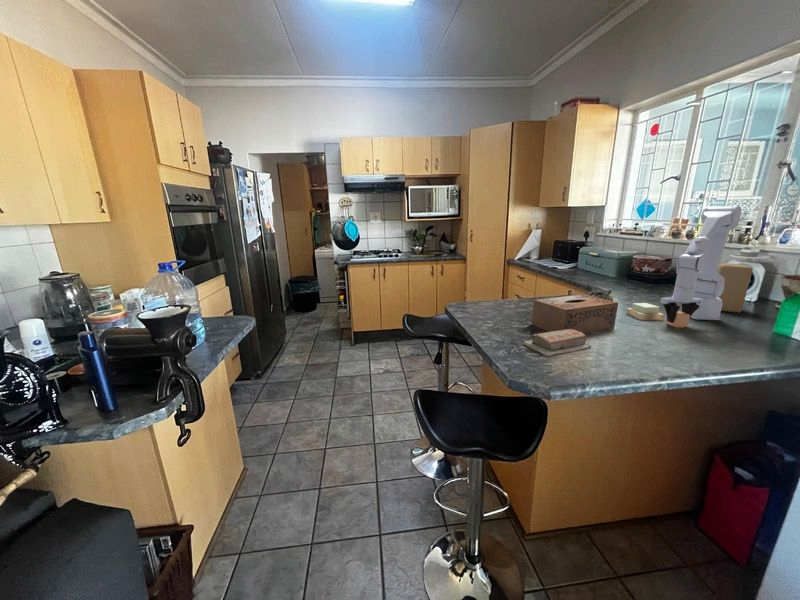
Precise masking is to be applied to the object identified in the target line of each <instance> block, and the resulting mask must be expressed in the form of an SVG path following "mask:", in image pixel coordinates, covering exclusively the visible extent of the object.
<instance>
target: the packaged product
mask: <svg viewBox="0 0 800 600" xmlns="http://www.w3.org/2000/svg"><path fill="white" fill-rule="evenodd" d="M586 341H587V338H586V333H582V332H579V331H576V330H573V329H565V330H558V331H552V332H549V331H546V332H541V333H539V332H538V333H536V334H535V333H534V334H533V336H532V339H531V340H530V339H529V340H524V343H523V344H524V346H526V347H528V348H530V349H532V350H534V351H536V352H538V353H540V354H542V355H544V356H546V357H551V356H554V355H560V354H565V353H572V352H577V351H580V350H586V349H591V348H592V345H590V344H588V343H586Z"/></svg>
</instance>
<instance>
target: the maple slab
mask: <svg viewBox="0 0 800 600" xmlns="http://www.w3.org/2000/svg"><path fill="white" fill-rule="evenodd" d="M625 314H626V315H628V316H630V315H631V316H630V317H632V316H633V317H632V318H634V319H637V320H639V321H664V317H665V314H664V313H662V312H659V313H641V312H638V311H635V310H632V309H631V307H627V308H626V312H625Z"/></svg>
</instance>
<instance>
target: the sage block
mask: <svg viewBox="0 0 800 600" xmlns="http://www.w3.org/2000/svg"><path fill="white" fill-rule="evenodd" d="M630 308H631V309H632V310H635V311H638V312H641V313H660V308H661V307H660V306H658V305H656V304H655V305H654V304H651V303H647V302H633V303H631V307H630Z"/></svg>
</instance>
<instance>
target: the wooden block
mask: <svg viewBox="0 0 800 600" xmlns="http://www.w3.org/2000/svg"><path fill="white" fill-rule="evenodd" d="M753 270H754V269H753V267H752V266H750V265H747V264H740V263H739V264H738V263H724V262H722V263H721V262H720V265H719V268H718V272H717V273H718V274H720V275H721V276H722V277H723V278H724V279H725V282H724V290H723V293H722V294H721V296H719V298H720V299H721V300H722V308H721V312H727V311H728V313H736V312H737V313H741V312H743V311H742V310H743V308H744V307H743V306H744V304H745V300H746V297H747V296H746V295H747V292H748V289H749V284H750V281H751V277H752V273H753ZM711 281H716V280H712V279H711Z"/></svg>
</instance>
